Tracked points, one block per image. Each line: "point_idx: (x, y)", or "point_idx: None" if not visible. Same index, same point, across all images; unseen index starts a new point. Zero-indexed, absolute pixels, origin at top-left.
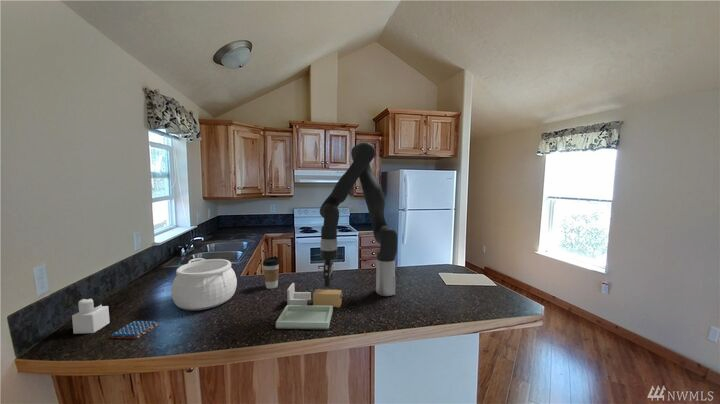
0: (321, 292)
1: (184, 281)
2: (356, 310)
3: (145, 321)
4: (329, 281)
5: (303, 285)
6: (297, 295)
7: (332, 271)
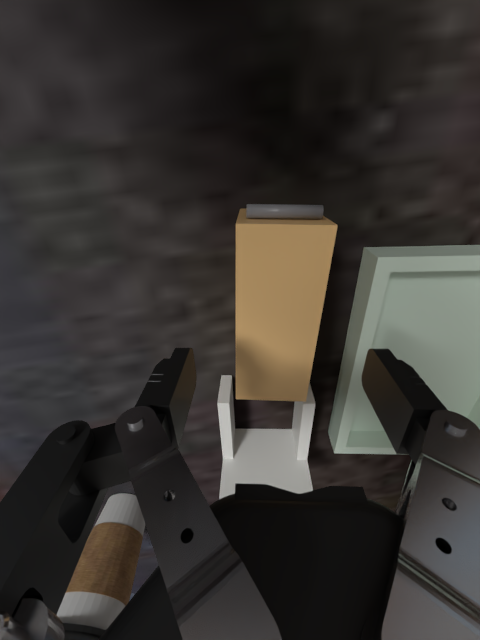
0: (287, 362)
1: None
2: (380, 57)
3: None
4: (414, 385)
5: None
6: (233, 437)
7: (153, 410)
